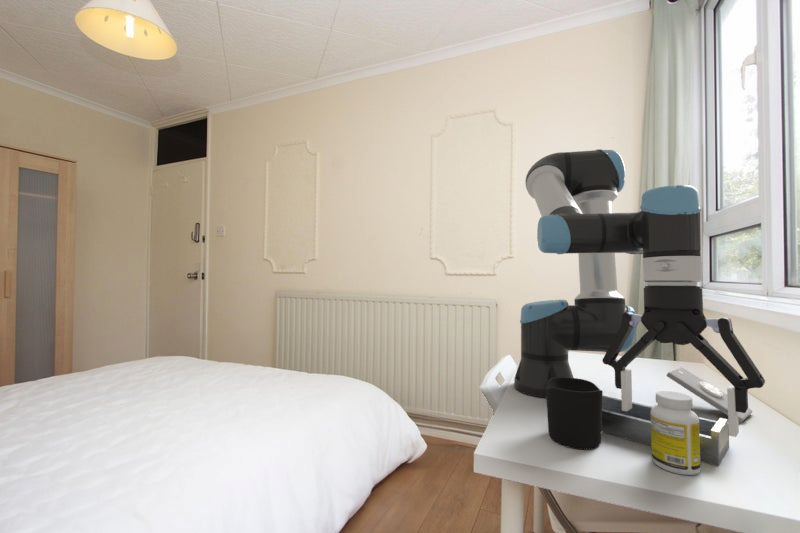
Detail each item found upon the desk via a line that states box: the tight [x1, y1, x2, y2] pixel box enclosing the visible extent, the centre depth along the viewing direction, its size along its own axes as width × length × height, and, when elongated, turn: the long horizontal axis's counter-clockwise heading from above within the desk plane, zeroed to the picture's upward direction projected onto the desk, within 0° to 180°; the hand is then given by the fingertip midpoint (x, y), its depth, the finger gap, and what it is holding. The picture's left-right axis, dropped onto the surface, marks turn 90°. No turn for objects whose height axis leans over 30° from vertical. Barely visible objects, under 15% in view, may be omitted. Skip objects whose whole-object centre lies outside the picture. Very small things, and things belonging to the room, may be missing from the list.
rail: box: [601, 394, 730, 467], centre depth 69 cm, size 21×10×5 cm, turn 41°
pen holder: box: [545, 377, 604, 450], centre depth 68 cm, size 9×9×10 cm
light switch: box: [666, 366, 753, 424], centre depth 83 cm, size 8×6×14 cm
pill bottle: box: [650, 390, 702, 476], centre depth 58 cm, size 6×6×11 cm
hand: (675, 420), depth 58 cm, fingers open, 13 cm apart
